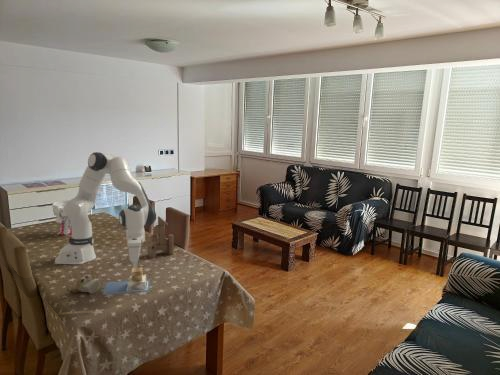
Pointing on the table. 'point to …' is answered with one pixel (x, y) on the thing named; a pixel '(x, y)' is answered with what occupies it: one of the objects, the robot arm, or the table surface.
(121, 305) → the table surface
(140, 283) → the base block
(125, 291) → the board
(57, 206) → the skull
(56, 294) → the table surface
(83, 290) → the ceramic sculpture
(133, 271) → the oak cube
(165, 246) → the wooden toy
